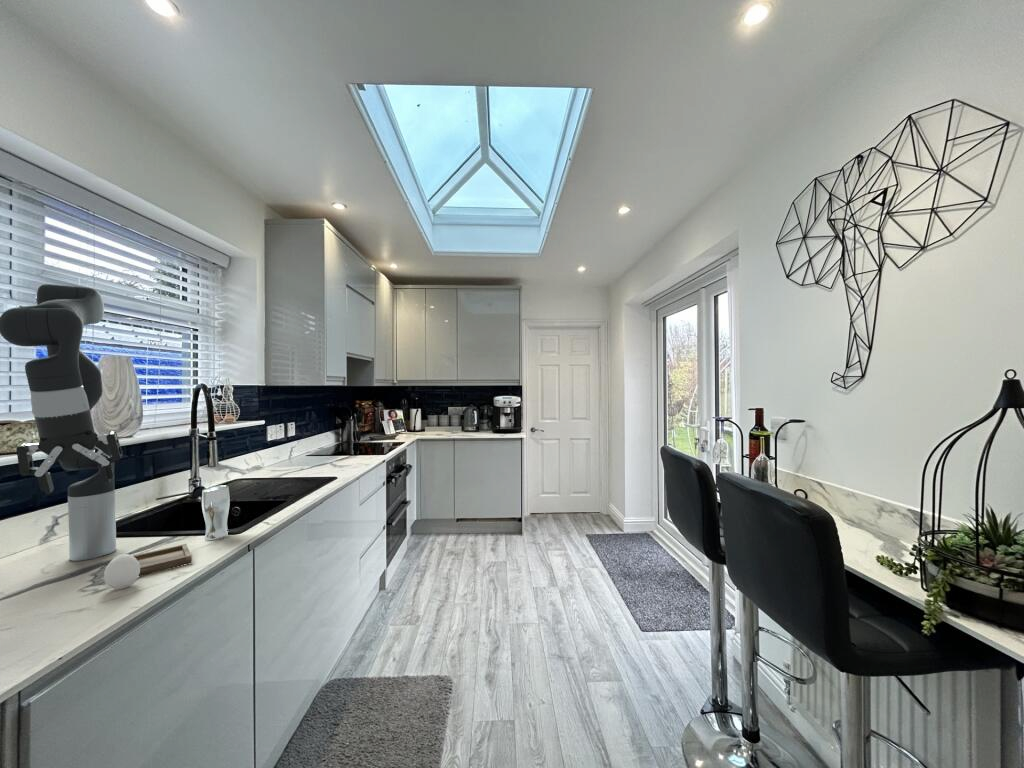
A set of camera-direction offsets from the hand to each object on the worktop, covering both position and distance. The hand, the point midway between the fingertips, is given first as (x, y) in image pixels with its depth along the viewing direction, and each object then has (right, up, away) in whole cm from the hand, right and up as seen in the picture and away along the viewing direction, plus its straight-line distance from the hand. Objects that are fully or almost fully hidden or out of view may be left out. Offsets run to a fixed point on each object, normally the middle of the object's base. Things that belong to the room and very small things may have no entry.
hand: (79, 486), depth 85 cm
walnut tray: (-3, -26, +23) cm, 34 cm away
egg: (0, -26, +10) cm, 28 cm away
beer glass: (-2, -26, +42) cm, 49 cm away
